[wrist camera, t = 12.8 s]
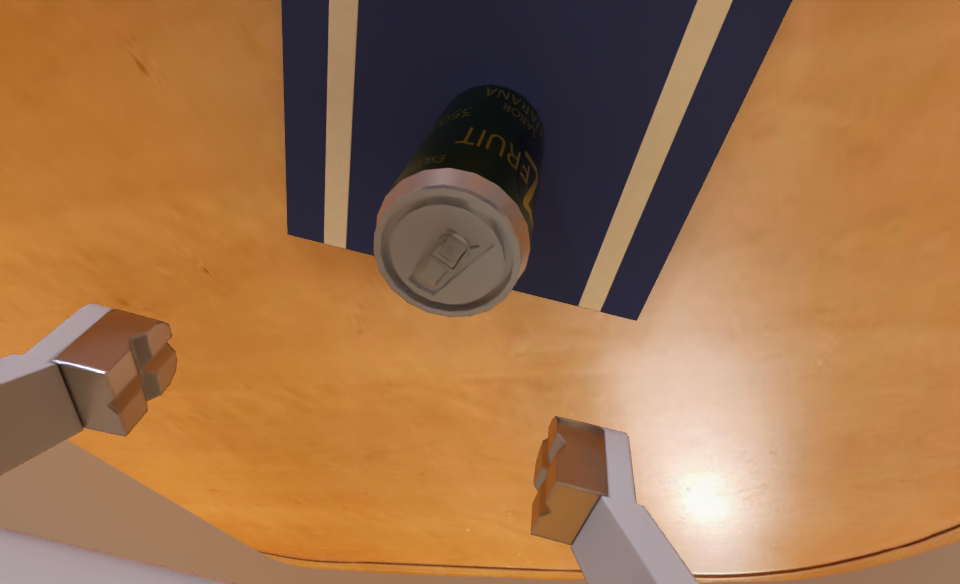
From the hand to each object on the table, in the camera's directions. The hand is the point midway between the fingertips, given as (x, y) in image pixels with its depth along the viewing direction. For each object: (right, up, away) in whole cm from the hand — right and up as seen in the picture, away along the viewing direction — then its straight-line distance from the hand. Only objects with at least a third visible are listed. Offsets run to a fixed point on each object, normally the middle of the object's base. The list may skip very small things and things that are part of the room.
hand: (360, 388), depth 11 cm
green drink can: (+3, +10, +16) cm, 19 cm away
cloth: (+3, +10, +16) cm, 19 cm away
